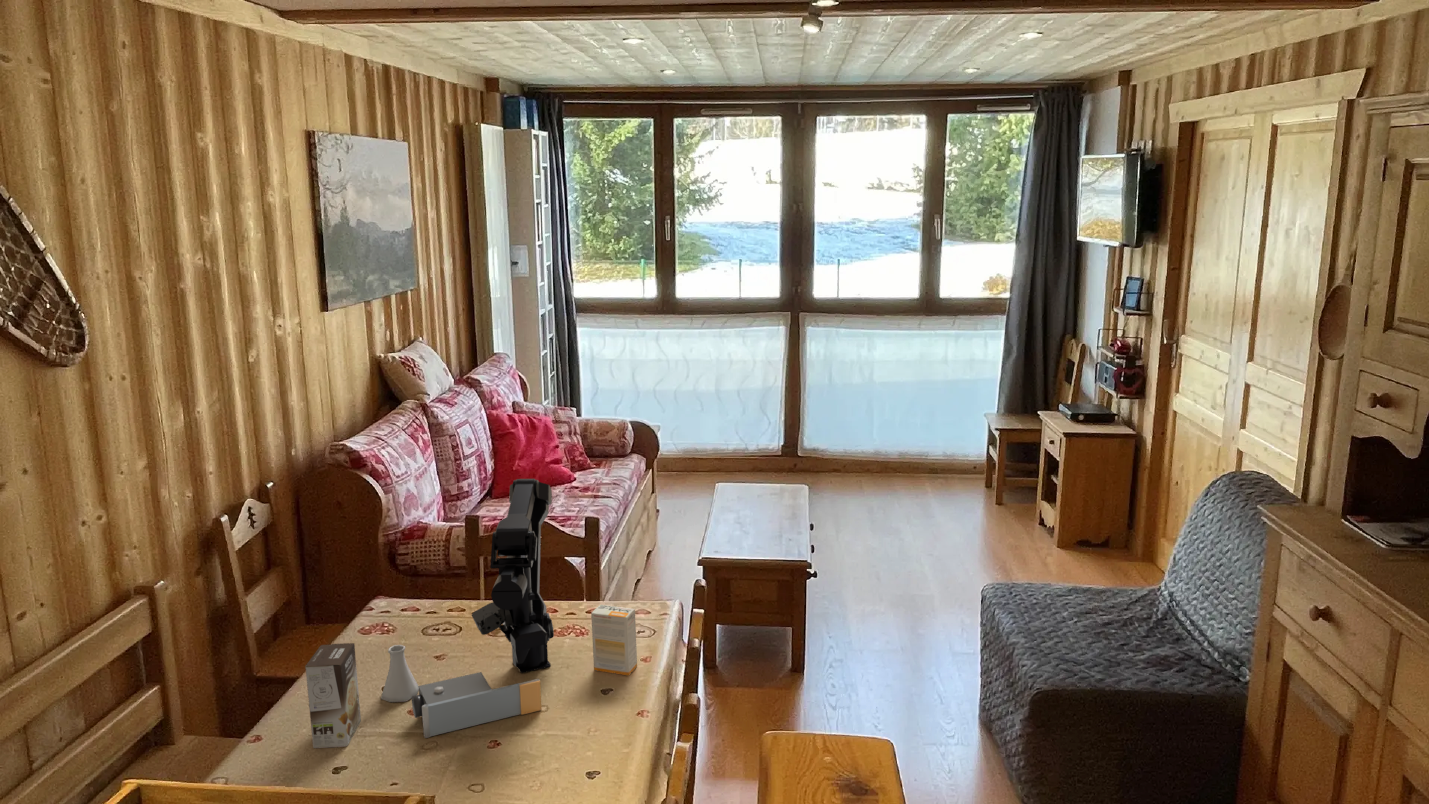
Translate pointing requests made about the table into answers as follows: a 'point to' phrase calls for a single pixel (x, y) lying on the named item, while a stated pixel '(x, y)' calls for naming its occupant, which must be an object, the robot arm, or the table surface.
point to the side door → (481, 707)
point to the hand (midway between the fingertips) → (520, 662)
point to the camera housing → (448, 690)
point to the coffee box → (333, 695)
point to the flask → (399, 678)
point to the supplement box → (614, 639)
